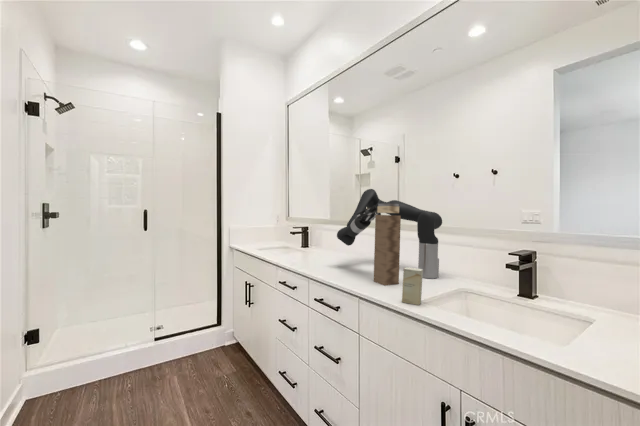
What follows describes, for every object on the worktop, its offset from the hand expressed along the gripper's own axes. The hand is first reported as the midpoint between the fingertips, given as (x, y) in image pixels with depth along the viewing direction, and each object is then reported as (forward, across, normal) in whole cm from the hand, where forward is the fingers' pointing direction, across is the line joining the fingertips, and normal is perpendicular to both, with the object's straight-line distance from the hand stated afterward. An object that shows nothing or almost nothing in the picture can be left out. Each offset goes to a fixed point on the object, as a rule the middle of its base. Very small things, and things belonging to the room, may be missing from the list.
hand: (378, 207), depth 140 cm
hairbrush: (+1, 0, +4) cm, 4 cm away
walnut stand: (-11, 0, +34) cm, 36 cm away
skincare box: (+12, -10, +48) cm, 50 cm away
